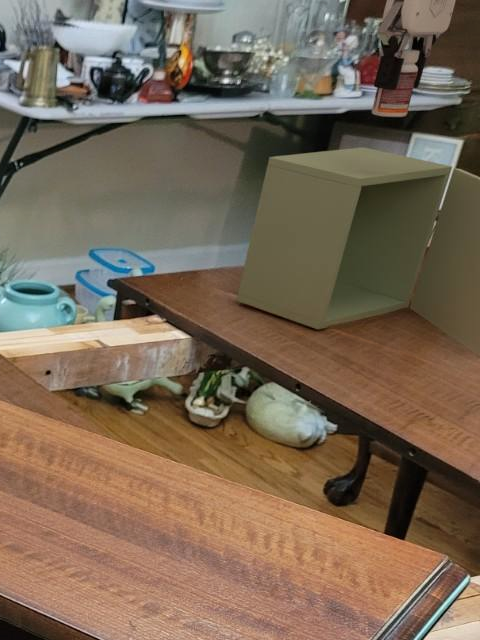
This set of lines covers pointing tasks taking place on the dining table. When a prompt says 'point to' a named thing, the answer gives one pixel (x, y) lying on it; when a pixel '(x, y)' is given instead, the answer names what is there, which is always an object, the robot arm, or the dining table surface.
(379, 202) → the cupboard
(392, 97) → the pill bottle
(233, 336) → the dining table surface
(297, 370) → the dining table surface
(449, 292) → the cupboard door
